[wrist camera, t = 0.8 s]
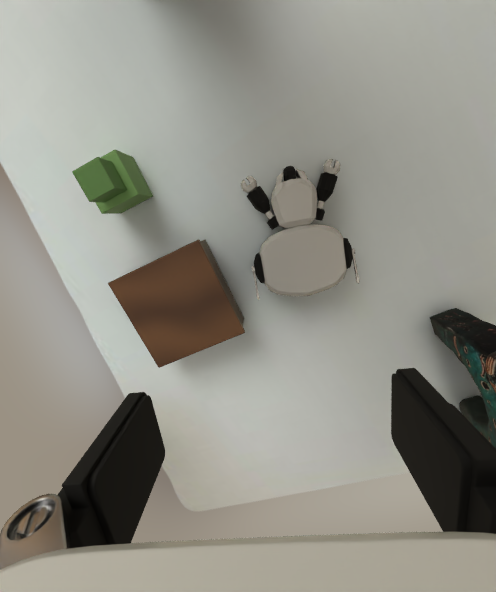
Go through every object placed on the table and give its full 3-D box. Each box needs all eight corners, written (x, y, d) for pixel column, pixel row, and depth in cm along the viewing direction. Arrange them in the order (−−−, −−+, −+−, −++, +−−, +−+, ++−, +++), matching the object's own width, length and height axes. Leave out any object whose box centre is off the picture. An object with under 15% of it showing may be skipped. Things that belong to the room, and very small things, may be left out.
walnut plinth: (125, 275, 39) (107, 283, 35) (206, 236, 37) (198, 239, 33) (169, 351, 42) (158, 367, 38) (247, 319, 40) (244, 332, 36)
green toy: (99, 175, 35) (59, 167, 29) (132, 156, 35) (100, 143, 28) (120, 213, 37) (87, 214, 30) (153, 196, 36) (127, 192, 29)
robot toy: (237, 181, 36) (258, 297, 38) (233, 174, 31) (257, 305, 34) (337, 160, 34) (351, 282, 37) (347, 149, 30) (362, 288, 33)
